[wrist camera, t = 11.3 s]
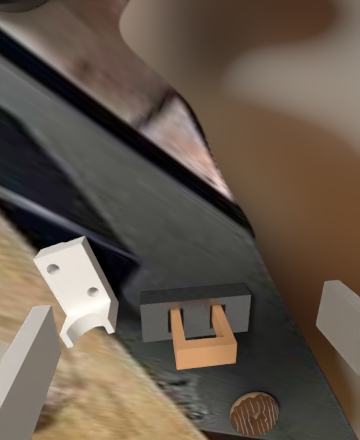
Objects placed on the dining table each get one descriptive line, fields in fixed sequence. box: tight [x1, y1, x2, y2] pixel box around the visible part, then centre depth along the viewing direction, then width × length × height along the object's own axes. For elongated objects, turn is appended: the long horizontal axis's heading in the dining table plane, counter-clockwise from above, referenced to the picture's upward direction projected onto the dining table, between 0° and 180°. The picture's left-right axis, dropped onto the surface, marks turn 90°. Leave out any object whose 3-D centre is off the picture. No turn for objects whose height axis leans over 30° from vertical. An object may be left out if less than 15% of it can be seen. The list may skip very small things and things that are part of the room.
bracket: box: [33, 236, 119, 348], centre depth 40 cm, size 13×7×8 cm, turn 18°
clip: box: [170, 305, 237, 370], centre depth 43 cm, size 4×8×10 cm, turn 91°
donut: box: [230, 392, 279, 436], centre depth 58 cm, size 11×11×4 cm
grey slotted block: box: [140, 283, 251, 342], centre depth 46 cm, size 8×18×4 cm, turn 91°
